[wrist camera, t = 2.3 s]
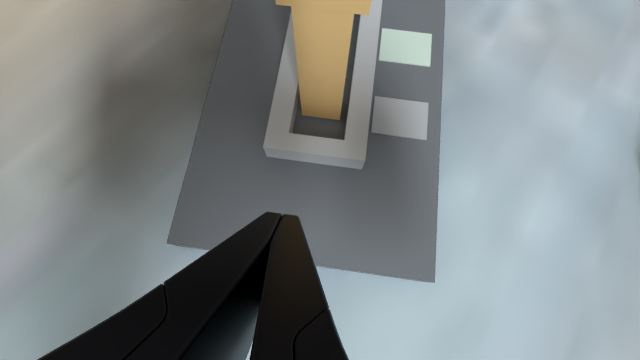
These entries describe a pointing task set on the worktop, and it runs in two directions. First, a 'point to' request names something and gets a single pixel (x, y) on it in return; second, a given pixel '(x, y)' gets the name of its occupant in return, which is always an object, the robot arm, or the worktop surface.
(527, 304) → the worktop surface
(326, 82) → the tab
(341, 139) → the switch board
